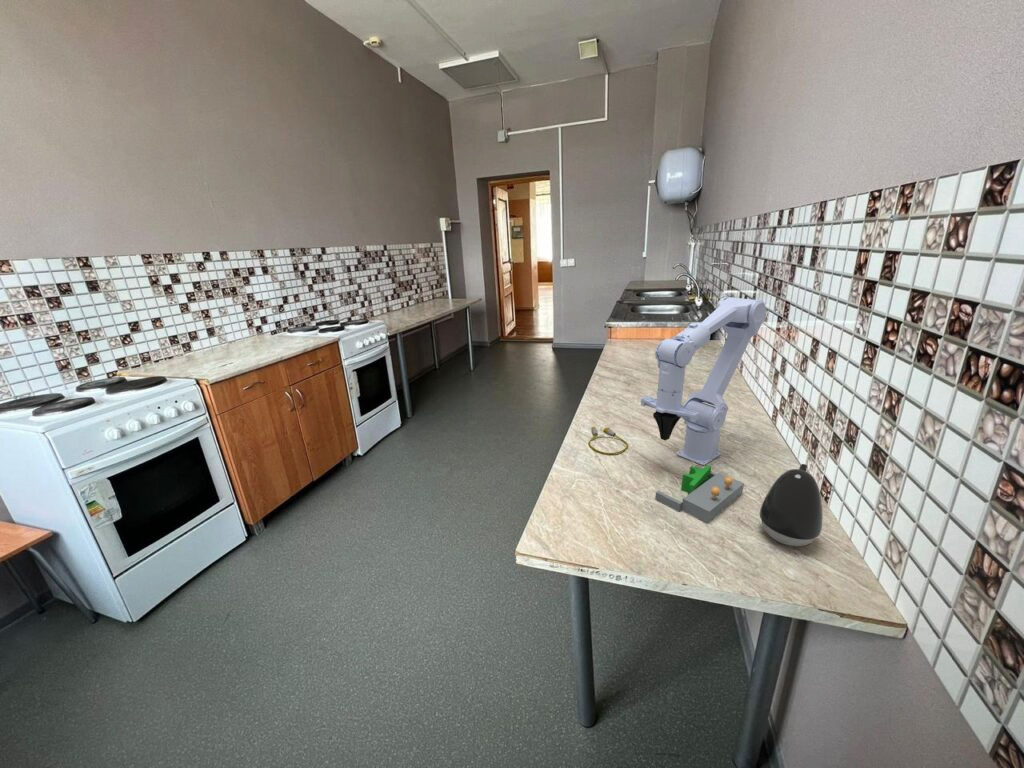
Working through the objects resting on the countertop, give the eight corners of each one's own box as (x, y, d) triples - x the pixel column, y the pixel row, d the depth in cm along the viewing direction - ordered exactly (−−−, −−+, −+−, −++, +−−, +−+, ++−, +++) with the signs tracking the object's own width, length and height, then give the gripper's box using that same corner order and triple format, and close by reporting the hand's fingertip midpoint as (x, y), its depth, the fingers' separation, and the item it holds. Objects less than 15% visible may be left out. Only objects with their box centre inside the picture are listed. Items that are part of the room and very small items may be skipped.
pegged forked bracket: (695, 471, 105) (698, 452, 103) (744, 492, 96) (748, 471, 94) (655, 499, 95) (657, 478, 93) (705, 525, 86) (708, 502, 84)
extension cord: (631, 435, 127) (631, 429, 126) (625, 459, 113) (626, 453, 112) (592, 430, 131) (592, 424, 130) (582, 453, 117) (582, 446, 116)
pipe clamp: (693, 476, 103) (696, 460, 102) (709, 482, 101) (711, 466, 99) (675, 496, 96) (677, 479, 94) (691, 502, 93) (694, 485, 92)
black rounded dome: (820, 533, 82) (837, 468, 77) (812, 563, 75) (831, 493, 70) (763, 513, 89) (775, 451, 84) (750, 538, 81) (764, 473, 76)
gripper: (634, 385, 101) (631, 433, 106) (689, 400, 91) (683, 454, 95) (651, 378, 105) (647, 425, 110) (705, 393, 95) (698, 444, 99)
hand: (665, 438), depth 103 cm, fingers closed
